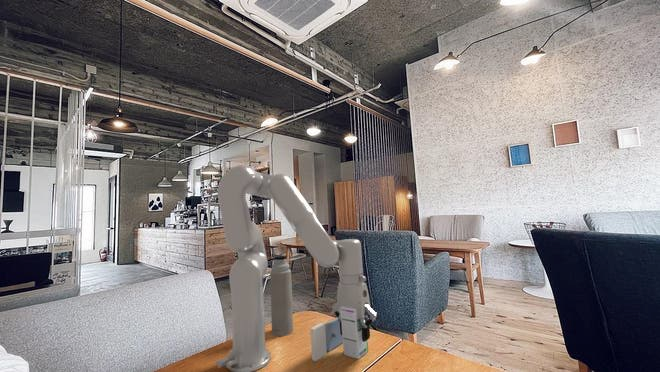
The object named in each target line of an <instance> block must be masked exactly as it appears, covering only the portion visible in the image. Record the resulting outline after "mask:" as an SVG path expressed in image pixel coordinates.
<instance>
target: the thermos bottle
mask: <svg viewBox="0 0 660 372" xmlns="http://www.w3.org/2000/svg"><path fill="white" fill-rule="evenodd" d="M287 257H288V256H287V255H277V256H274V257H273V264H272V266H271V271H270V272H269V273H270V274H269V275H270V277H269V278H270V279H269V280H270V282H269V283H270V311H271V312H270V313H271V314H270V315H271V334H272V335H273V336H275V337H284V336H288V335H291V334H292V333H293V331H294V318H293V317H294V315H293V312H294V310H293V287H292V284H293V283H292V269H290V264H289V263H288V262H287V261H288V260H287Z"/></svg>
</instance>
